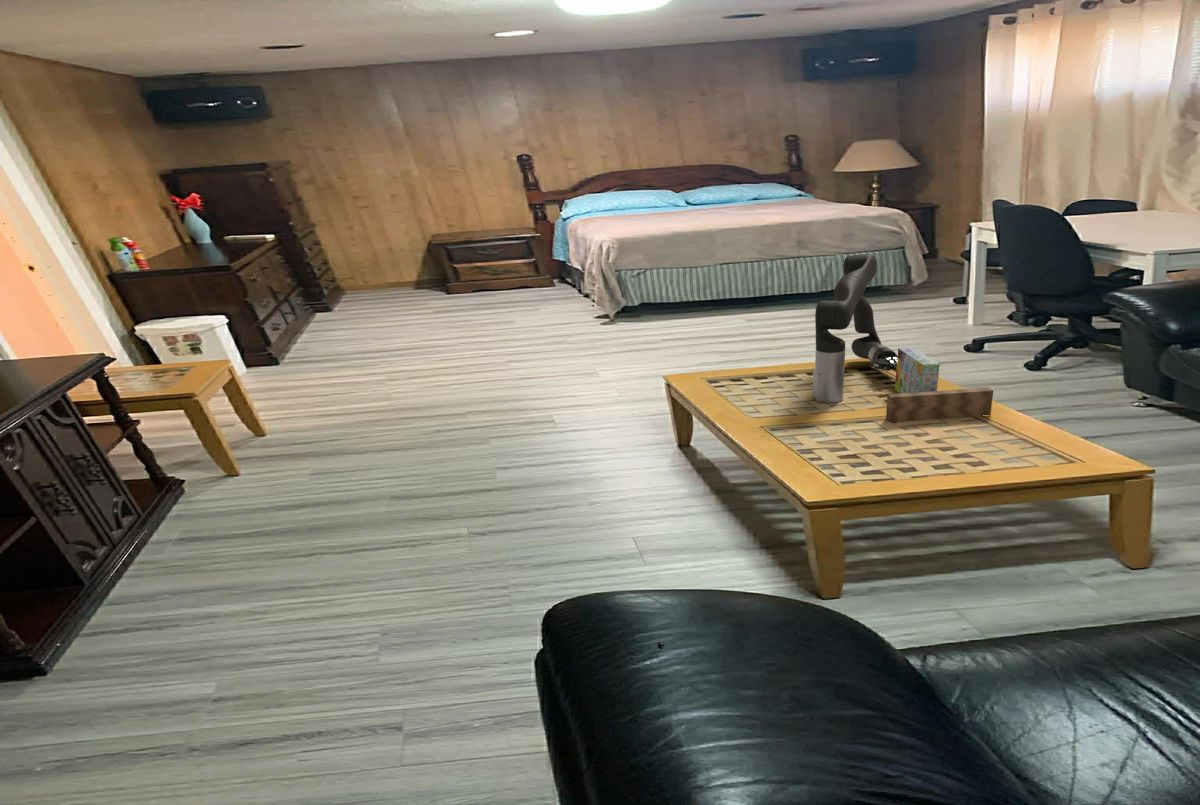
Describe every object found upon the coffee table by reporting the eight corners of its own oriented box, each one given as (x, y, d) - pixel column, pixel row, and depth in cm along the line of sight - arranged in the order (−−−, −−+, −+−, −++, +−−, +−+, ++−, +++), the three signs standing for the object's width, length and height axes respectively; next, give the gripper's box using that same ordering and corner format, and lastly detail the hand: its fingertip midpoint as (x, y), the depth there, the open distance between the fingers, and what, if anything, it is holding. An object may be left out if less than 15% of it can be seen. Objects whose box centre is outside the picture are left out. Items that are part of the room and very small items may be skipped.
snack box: (936, 409, 214) (941, 363, 209) (918, 411, 214) (922, 364, 209) (910, 388, 234) (913, 346, 229) (893, 389, 234) (896, 347, 229)
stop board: (889, 422, 207) (891, 397, 204) (885, 418, 210) (887, 394, 207) (990, 415, 206) (993, 390, 203) (985, 412, 209) (988, 387, 206)
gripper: (864, 348, 247) (882, 361, 231) (901, 345, 247) (922, 358, 231) (863, 368, 250) (881, 382, 233) (900, 365, 249) (920, 379, 233)
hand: (901, 370), depth 232 cm, fingers closed
